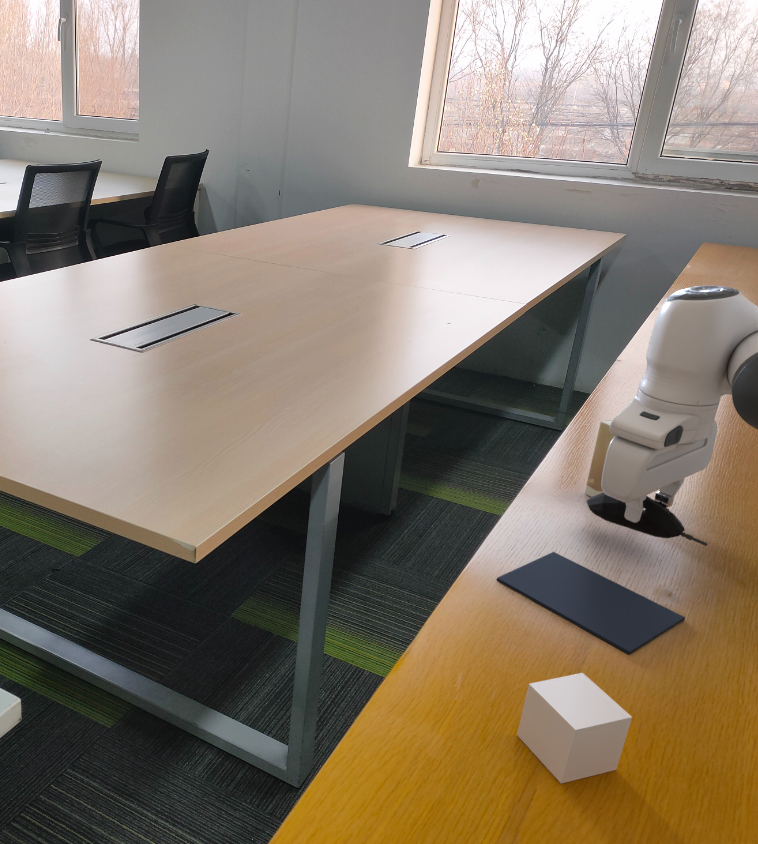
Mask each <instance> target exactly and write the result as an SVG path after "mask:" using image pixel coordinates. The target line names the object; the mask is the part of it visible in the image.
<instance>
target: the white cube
mask: <svg viewBox="0 0 758 844" xmlns="http://www.w3.org/2000/svg"><path fill="white" fill-rule="evenodd" d="M632 720H633V716H632V715H631V714H630V713H628V712H627V711H626V710H625V709H624V708H623V707H621V706H620V705H619V704H618V703H617V702H616V701H615V700H614V699H612V697H610V695H608V694H607V693H606V692H605V691H604V690H603V689H602V688H600V687H599V686H598V685H597V684H596V683H595V682H594V681H593V680H592V679H590V678H589V677H588V676H587V675H586V674H585V673H584V672H580V673H575V674H569V675H565V676H560V677H559V676H558V677H555V678H549V679H546V680H540V681H536V682H530V683H528V686H527V690H526V694H525V698H524V703H523V706H522V711H521V716H520V720H519V723H518V728H517V733H516V736H517V737H518V738H519V739H520V741H522V743H524V744H525V746H526V747H528V750H530V751H531V752H532V754H534V756H535V757H536V758H537V760H539V761H540V762H541V763H542V765H544V766H545V768H546V769H547V770H548V771H549V772H550V774H552V776H553V777H554V778H555V779H556V780H557V781H558V783H560V784H566V783H568V782H569V783H570V782H573V781H577V780H580V779H585V778H589V777H594V776H597V775H601V774H605V773H609V772H610V773H611V772H613V771H617V769H618V765H619V762H620V759H621V755H622V753H623V749H624V746H625V743H626V739H627V736H628V733H629V729H630V727H631V722H632Z"/></svg>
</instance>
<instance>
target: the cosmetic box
mask: <svg viewBox="0 0 758 844" xmlns="http://www.w3.org/2000/svg"><path fill="white" fill-rule="evenodd" d="M611 421H612V419H608V420H602V421H601V420H600V423H599V427H598V431H597V436H596V440H595V445H594V450H593V453H592V459H591V463H590V468H589V472H588V476H587V481H586V484H585V489H584V494H585V495H587V496H588V497H589V498H591V497H593V496H595V495H598V494H600V493H603V490H602V487H601V480H602V474H603V468H604V463H605V458H606V454H607V450H608V447H609V444H610V442H611V441H612V439H613V438H614V437H615V436H616V435H614V434H611V433H610V425H611Z"/></svg>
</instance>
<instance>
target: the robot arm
mask: <svg viewBox="0 0 758 844" xmlns="http://www.w3.org/2000/svg"><path fill="white" fill-rule="evenodd" d="M645 357H646V370H645V372H644V375H643V377H642V378H641V380H640V382H639V384H638V388H637V391H636V396H635V397H633V398H632V399H631V401H630V402H629V403H628V404H627V406H626V407H624V408H623V409H622V411H620V412H619V413H618V414H616V415H615V416H614V417H613V418H612V419H611V420H612V421H611V425H610V433H611V434H614V435H616V436H615V437H614V438H613V439H612V441H611V442H610V444H609V447H608V450H607V454H606V458H605V463H604V468H603V474H602V480H601V487H602V490H603V492H604V494H606V495H608V496H610V497H612V498H614V499H617V500H619V501H622V502H625V504H626V511H625V515H624V516H625V518H626V519H627V520H629V521H632V522H634V523H636V522H638V521H640V520H642V519H644V514H645V511H646V509H645V508H643V500H645V499H646V496H648V495H650V494H652V493H654V492H655V495H654V499H653V500H654V501H656V502H658V503H659V504H661V505H662V506H663V507H665V508H667V509H669V508H670V507H672V506H673V504H674V501H675V497H676V495H677V494H678V492H679V490H680V489H681V487H682V486H683V484H684V482H685V479H687V478H688V477H690V476H693V475H695V474H696V473H699V472H701V471H703V470H706V469H707V467H708V466H709V464H710V462H711V460H712V458H713V453H714V448H715V443H716V438H717V432H718V423H717V421H716V417H717V412H718V409H719V405H720V401H721V398H722V397H723V396H725V395H726V396H727V395H731V399H732V404H733V407H734V409H735V411H736V413H737V414H738V416H739V417H740V419H742V420H743V421H744V422H745V423H746V424H748V425H749V426H750V427H752V428H754V429H756V430H758V305H757V304H755V303H754V302H752V301H751V300H749V299H748V298H747V297H746V296H744V294H743V293H742V292H741V291H740V290H738V289H736V288H733V287H730V286H721V285H698V286H691V287H686V288H683V289H679V290H677V291H675V292H674V293H672V294H670V295H669V296H668V297H667V298H666V299H665V300H664V302H663V303H662V305H661V307H660V309H659V311H658V314H657V316H656V319H655V322H654V324H653V327H652V330H651V334H650V337H649V341H648V346H647V350H646V356H645ZM656 491H657V492H656Z"/></svg>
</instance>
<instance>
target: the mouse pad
mask: <svg viewBox="0 0 758 844" xmlns="http://www.w3.org/2000/svg"><path fill="white" fill-rule="evenodd" d="M496 581H497V582H499V583H501V584H502V585H504V586H506V587H508V588H510V589H511V590H513V591H515V592H516V593H519V594H520V595H522V596H524V597H525V598H527V599H529V600H531V601H532V602H534V603H536V604H538V605H539V606H541V607H543V608H545V609H547V610H548V611H550V612H552V613H554V614H555V615H557V616H559V617H561V618H563V619H565V620H566V621H569V622H570V623H572V624H573V625H575V626H577V627H579V628H580V629H582V630H584V631H587V632H588V633H590V634H591V635H593V636H594V637H597V638H598V639H600V640H602V641H604V642H605V643H607V644H608V645H611V646H613V647H614V648H616V649H618V650H620V651H622V652H624V653H625V654H627V655H631V654H633V653H634V652H636V651H638V650H640V649H641V648H642V647H644V646H645V645H647V644H648V643H650V642H652V641H653V640H655V639H656V638H658V637H660V636H662V635H663V634H664V633H666V632H668V631H669V630H672V628H674V627H676V626H677V625H679V624H681V623H682V622H684V621H685V619H686V616H683V615H681V614H680V613H678V612H676V611H674V610H673V609H669V608H668V607H666V606H664V605H662V604H659V603H657V602H656V601H654V600H652V599H649V598H647V597H645V596H643V595H642V594H639V593H637V592H636V591H633V590H631V589H629V588H627V587H625V586H623V585H621V584H619V583H617V582H615V581H613V580H612V579H609V578H607V577H605V576H603V575H601V574H599V573H598V572H595V571H593V570H591V569H590V568H587V567H585V566H584V565H582V564H579V563H578V562H575V561H573V560H571V559H569V558H568V557H565V556H563V555H561V554H559V553H557V552H555V551H552V552H550V553H547V554H546V555H544V556H541V557H539V558H537V559H535V560H533V561H530V562H528V563H526V564H524V565H521V566H519V567H518V568H515V569H513V570H511V571H509V572H507V573H504V574H502V575H500V576H498V577H496Z"/></svg>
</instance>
